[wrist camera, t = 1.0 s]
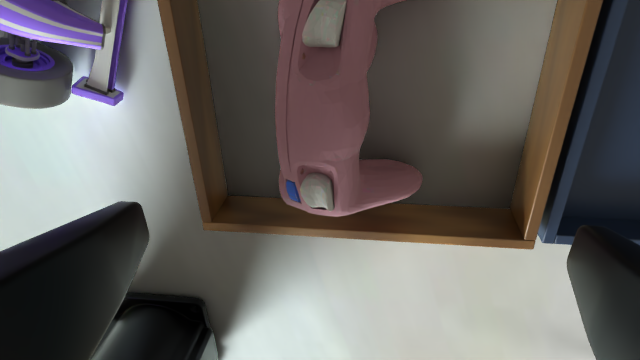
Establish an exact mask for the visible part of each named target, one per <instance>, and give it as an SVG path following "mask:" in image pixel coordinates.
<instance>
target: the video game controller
mask: <svg viewBox="0 0 640 360" xmlns="http://www.w3.org/2000/svg"><path fill="white" fill-rule="evenodd" d="M401 1H405V0H279V4H278V24H279V31H280V37H281V43H280V50H279V58H278V67H277V75H276V94H275V125H276V140H277V148H278V156H279V162H280V166H281V169H280V174H279V190H280V194H281V197H282V199H283V200H284V201H285V202H286V203H287V204H288V205H291V206H294V207H296V208H299V209H302V210H304V211H307V212H308V213H312V214H317V215H323V216H334V217H339V216H345V215H349V214H353V213H356V212H359V211H362V210H366V209H369V208H373V207H376V206H380V205H384V204H388V203H392V202H395V201H399V200H402V199H404V198H407V197H409V196H411V195H412V194H413V193H415V192H416V191H417V190H419V188H420V186H421V184H422V180H423V176H422V174H421V173H420V172H419V171H418V170H417V169H416V168H415V167H413V166H411V165H408V164H405V163H403V162H400V161H394V160H388V159H362V160H359V153H360V148H361V145H362V143H363V140H364V137H365V134H366V132H367V129H368V125H369V119H370V109H369V91H368V82H367V71H368V70H369V68H370V66H371V64H372V61H373V58H374V55H375V51H376V46H377V28H376V24H375V22H374V19H375V16H376V14H377V13H378V11H379V10H381V9H382V8H384V7H386V6H389V5H392V4H395V3H398V2H401Z"/></svg>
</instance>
